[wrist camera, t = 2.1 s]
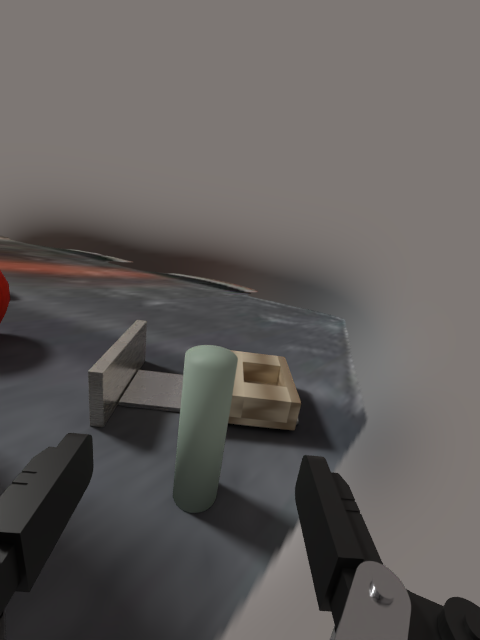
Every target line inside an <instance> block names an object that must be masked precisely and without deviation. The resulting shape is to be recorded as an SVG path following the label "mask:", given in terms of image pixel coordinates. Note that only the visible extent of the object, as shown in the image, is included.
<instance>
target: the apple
mask: <svg viewBox="0 0 480 640" xmlns="http://www.w3.org/2000/svg"><path fill="white" fill-rule="evenodd" d="M9 301H10V293H9V284H8V282H7V280H6V279H5V277H4V275H3V274H2V272H1V270H0V323H1V321H2V319H3V317H4V315H5V313H6V311H7V307H8V304H9Z"/></svg>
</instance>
